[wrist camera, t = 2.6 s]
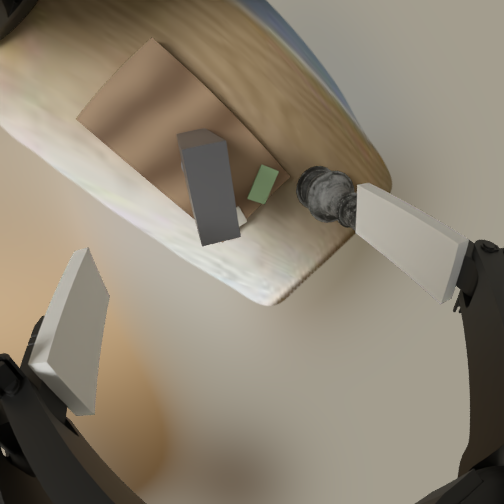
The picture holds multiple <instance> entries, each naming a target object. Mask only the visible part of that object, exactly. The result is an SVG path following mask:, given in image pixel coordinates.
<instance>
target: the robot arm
mask: <svg viewBox="0 0 504 504" xmlns="http://www.w3.org/2000/svg"><path fill="white" fill-rule="evenodd" d="M37 1H38V0H0V40H1V39H2V38H3V37H5V36H6V35H7V34H8V33H9V32H10V31H12V30H13V29H14V28H15V27H16V26H17V25H18V24H19V23H20V22H21V21H22V20H23V18H24V17H25V16H26V15H27V14H28V13H29V11H30V10H31V9H32V8H33V6H34V5H35V4H36V2H37ZM355 233H356V234H357V235H359V236H360V237H362V238H363V239H364V240H365V241H367V242H368V243H369V244H370V245H371V246H373V247H374V248H375V249H377V250H378V251H379V252H380V253H382V254H383V255H384V256H385V257H386V258H388V259H389V260H390V261H391V262H392V263H394V264H395V265H396V266H397V267H398V268H400V269H401V270H402V271H404V273H406V274H407V275H408V276H409V277H410V278H411V279H413V280H414V281H415V282H416V283H417V284H418V285H420V286H421V287H422V288H423V289H424V290H425V291H426V292H427V293H429V294H430V295H431V296H432V297H433V298H434V299H435V300H436V301H437V302H438V303H440V304H442V303H444V302H446V301H447V300H449V299H451V298H452V296H453V293H454V290H455V287H456V286H457V287H458V288H459V289H461V290H460V293H459V295H458V298H457V301H456V303H455V306H454V309H453V312H456V310H457V307H458V306H460V310H459V313H462V320H463V326H464V333H465V340H466V348H467V357H468V369H469V385H470V436H469V443H468V446H467V448H466V450H465V452H464V453H463V455H462V459H461V461H460V466H459V472H458V478H457V479H456V480H454V481H452V482H451V483H448V484H447V485H445V486H443V487H441V488H439V489H437V490H435V491H433V492H431V493H430V494H429V495H427V496H426V497H424V498H423V499H421V500H420V501H418V502H417V503H415V504H504V248H499V247H498V246H497V245H495V244H494V243H492V242H490V241H486V240H477V241H476V242H475V243H473V242H471V241H470V240H469V239H468V238H466V237H465V236H463V235H462V234H460V233H459V232H457V231H455V230H454V229H452V228H451V227H449V226H447V225H446V224H444V223H442V222H441V221H439V220H437V219H435V218H434V217H432V216H430V215H429V214H427V213H425V212H423V211H422V210H420V209H418V208H416V207H414V206H412V205H411V204H409V203H407V202H405V201H403V200H402V199H400V198H398V197H396V196H394V195H392V194H390V193H388V192H386V191H384V190H382V189H380V188H378V187H376V186H374V185H372V184H370V183H365V184H359V185H357V212H356V232H355ZM109 297H110V295H109V294H108V291H107V289H106V287H105V285H104V283H103V280H102V278H101V276H100V274H99V271H98V269H97V267H96V265H95V262H94V260H93V257H92V255H91V253H90V250H89V248H88V247H87V248H84V249H81V250H77V251H74V253H73V255H72V257H71V259H70V261H69V263H68V265H67V267H66V269H65V271H64V273H63V275H62V277H61V280H60V282H59V284H58V286H57V288H56V291H55V293H54V295H53V297H52V300H51V302H50V305H49V307H48V309H47V312H46V314H45V316H42V317H41V318H40V320H39V321H38V322H37V324H36V325H35V327H34V329H33V332H32V334H31V338H30V340H29V342H28V346H27V348H26V351H25V354H24V357H23V360H22V363H21V366H20V368H19V367H18V366H17V365H16V364H15V362H14V361H13V360H12V359H11V357H10V356H9V355H8V354H5V353H4V354H0V504H146V503H145V502H144V501H143V500H142V499H140V498H139V497H138V496H137V495H136V494H135V493H134V492H133V491H132V490H131V489H130V488H129V487H128V486H127V485H126V484H124V482H123V481H122V480H121V479H120V478H119V477H118V476H117V475H116V474H115V473H114V472H113V471H112V470H111V469H110V468H109V467H108V466H107V464H106V463H105V462H104V461H103V460H102V459H101V458H100V457H99V455H98V454H97V453H96V452H95V451H94V450H93V449H92V447H91V446H90V445H89V444H88V442H87V441H86V440H85V438H84V437H83V436H82V435H81V433H80V432H79V431H78V429H77V428H76V427H75V426H74V424H73V423H72V421H71V420H70V419H68V418H67V417H66V412H67V407H68V408H69V409H70V410H71V411H72V412H73V413H74V414H75V415H76V416H83V415H94V414H95V400H96V399H95V398H96V386H97V376H98V367H99V359H100V351H101V343H102V337H103V330H104V324H105V318H106V312H107V307H108V302H109ZM1 447H2V448H3V449H4V450H5V453H6V456H4V455H3V453H2V451H1Z"/></svg>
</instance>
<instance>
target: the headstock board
mask: <svg viewBox="0 0 504 504" xmlns="http://www.w3.org/2000/svg"><path fill="white" fill-rule="evenodd" d="M76 120H78V121H79V122H80V123H81V124H82V125H83V126H85V127H86V128H87V129H88V130H89V131H90V132H92V133H93V134H94V135H95V136H96V137H97V138H99V139H100V140H101V141H102V142H103V143H104V144H106V145H107V146H108V147H109V148H110V149H111V150H113V151H114V152H115V153H116V154H117V155H119V156H120V157H121V158H122V159H123V160H124V161H126V162H127V163H128V164H129V165H130V166H132V167H133V168H134V169H135V170H136V171H137V172H139V173H140V174H141V175H142V176H143V177H145V178H146V179H147V180H148V181H149V182H150V183H152V184H153V185H154V186H155V187H156V188H158V189H159V190H160V191H161V192H162V193H164V194H165V195H166V196H167V197H168V198H170V199H171V200H172V201H173V202H174V203H176V204H177V205H178V206H179V207H180V208H182V209H183V210H184V211H185V212H186V213H188V214H189V215H190V216H191V217H192V218H194V215H193V211H192V207H191V203H190V200H189V195H188V190H187V186H186V181H185V176H184V172H183V170H182V167H181V156H180V151H179V146H178V140H177V135H176V134H178V133H183V132H188V131H192V130H197V129H202V128H205V129H207V130H209V131H211V132H212V133H214V134H216V135H217V136H219V137H221V138H222V139H224V140H226V143H227V150H228V157H229V164H230V170H231V177H232V184H233V190H234V197H235V203H236V207H237V206H239V208H240V209H241V211H242V213H243V214H244V216H245V218H246V219H247V218H248V217H249V216H250V215H251V214H252V213H253V212H254V211H255V210H256V209H257V208H258V207H259V206H260V205H261V203H258V202H255V201H252V200H249V199H247V197H248V195H249V192H250V190H251V188H252V185H253V183H254V180H255V178H256V176H257V173H258V171H259V168H260V166H261V164H262V165H264V166H267V167H270V168H272V169H275V170H277V171H279V173H278V175H277V177H276V179H275V182H274V184H273V186H272V189H271V191H270V193H269V196H268V198H269V197H270V196H271V195H272V194H273V193H274V192H275V191H276V190H277V189H278V188H279V187H280V186H281V185H282V184H283V183H284V182H285V181H286V180H288V179H289V178H290V176H289V175H288V173H287V172H286V171H285V170H284V169H283V168H282V167H281V165H280V164H279V163H278V162H277V161H276V160H275V159H274V158H273V156H272V155H271V154H270V153H269V152H268V151H267V150H266V149H265V147H264V146H263V145H262V144H261V143H260V142H259V141H258V140H257V139H256V138H255V137H254V136H253V134H252V133H251V132H250V131H249V130H248V129H247V128H246V127H245V126H244V125H243V124H242V123H241V122H240V121H239V120H238V119H237V118H236V117H235V115H234V114H233V113H232V112H231V111H230V110H229V109H228V108H227V107H226V106H225V105H224V104H223V103H222V102H221V101H220V100H219V99H218V98H217V97H216V96H215V95H214V94H213V93H212V92H211V91H210V90H209V89H208V88H207V87H206V86H205V85H203V84H202V83H201V82H200V81H199V80H198V79H197V78H196V77H195V76H194V75H193V74H192V73H191V72H190V71H189V70H188V69H187V68H185V67H184V66H183V65H182V64H181V63H180V62H179V61H178V60H177V59H176V58H175V57H173V56H172V55H171V54H170V53H169V52H168V51H167V50H166V49H164V48H163V47H162V46H161V45H160V44H159V43H158V42H156V41H155V40H154V39H153V38H151V39H149V40H148V41H147V42H146V43H145V44H144V45H143V46H142V47H141V48H139V49H138V50H137V51H136V52H135V53H134V54H133V55H132V56H131V57H130V58H129V59H128V60H127V61H126V62H125V63H124V64H123V65H122V66H121V67H120V68H119V69H118V70H117V71H116V72H115V73H114V74H113V75H112V76H111V78H110V79H109V80H108V81H107V82H106V83H105V84H104V85H103V86H102V87H101V89H100V90H99V91H98V92H97V93H96V94H95V96H94V97H93V98H92V99H91V100H90V101H89V103H88V104H87V105H86V106H85V108H84V109H83V110H82V111H81V113H80V114H79V115H78V117H77V118H76ZM268 198H267V199H268ZM194 219H195V218H194ZM222 242H224V241H222Z"/></svg>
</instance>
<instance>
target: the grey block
mask: <svg viewBox="0 0 504 504" xmlns="http://www.w3.org/2000/svg"><path fill="white" fill-rule="evenodd" d="M176 135H177V140H178V146H179V151H180V156H181V167H182V170H183V172H184V176H185V181H186V186H187V190H188V195H189V200H190V203H191V207H192V211H193V215H194V218H195V222H196V226H197V229H198V233H199V237H200V240H201V244H202V246H206V245H210V244H214V243H218V242H222V241H226V240H230V239H234V238H238V237H241V236H240V229H239V223H238V216H237V210H236V203H235V197H234V190H233V184H232V177H231V170H230V164H229V157H228V150H227V143H226V140H224V139H222V138H221V137H219V136H217V135H216V134H214V133H212V132H211V131H209V130H207V129H205V128H202V129H197V130H192V131H188V132H183V133H178V134H176Z"/></svg>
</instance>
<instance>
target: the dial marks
mask: <svg viewBox="0 0 504 504" xmlns="http://www.w3.org/2000/svg"><path fill="white" fill-rule="evenodd" d="M278 173H279V171H277V170H275V169H272V168H270V167H267V166H264V165H262V164H261V166H260V168H259V171H258V173H257V176H256V178H255V180H254V183H253V185H252V188H251V190H250V192H249V195H248V197H247V199H249V200H252V201H255V202H258V203H261V204H265V203H266V200H267V198H268V196H269V193H270V191H271V189H272V186H273V184H274V182H275V179H276V177H277V175H278ZM236 210H237V216H238V223H239V226H241V225H243V224H244V223H246V222H248V221H247V220H246V218H245V216H244V214H243V213H242V211H241V209H240V208H239V206H237V207H236Z"/></svg>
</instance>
